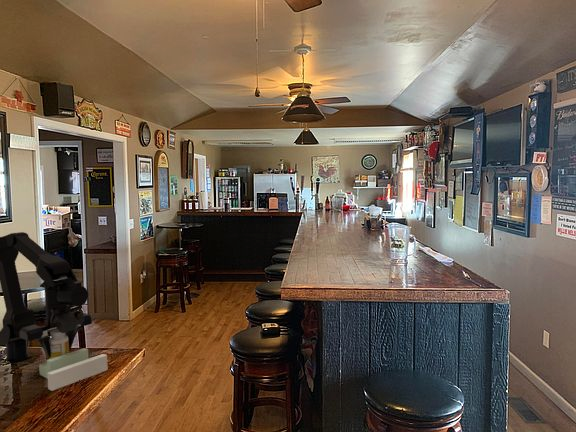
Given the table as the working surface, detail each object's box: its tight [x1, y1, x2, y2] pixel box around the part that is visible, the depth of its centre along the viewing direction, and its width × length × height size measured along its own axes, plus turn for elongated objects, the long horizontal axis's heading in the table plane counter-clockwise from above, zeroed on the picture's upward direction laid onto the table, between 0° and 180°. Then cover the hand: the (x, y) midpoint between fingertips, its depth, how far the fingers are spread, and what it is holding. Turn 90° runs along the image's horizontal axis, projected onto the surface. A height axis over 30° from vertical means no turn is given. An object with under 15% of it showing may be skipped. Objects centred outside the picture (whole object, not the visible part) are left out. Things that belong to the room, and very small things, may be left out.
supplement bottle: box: [48, 329, 70, 360], centre depth 127 cm, size 5×5×10 cm
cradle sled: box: [38, 347, 90, 380], centre depth 125 cm, size 7×11×6 cm, turn 143°
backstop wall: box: [47, 353, 109, 392], centre depth 120 cm, size 2×16×4 cm, turn 143°
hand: (59, 353), depth 127 cm, fingers closed on supplement bottle, 5 cm apart
